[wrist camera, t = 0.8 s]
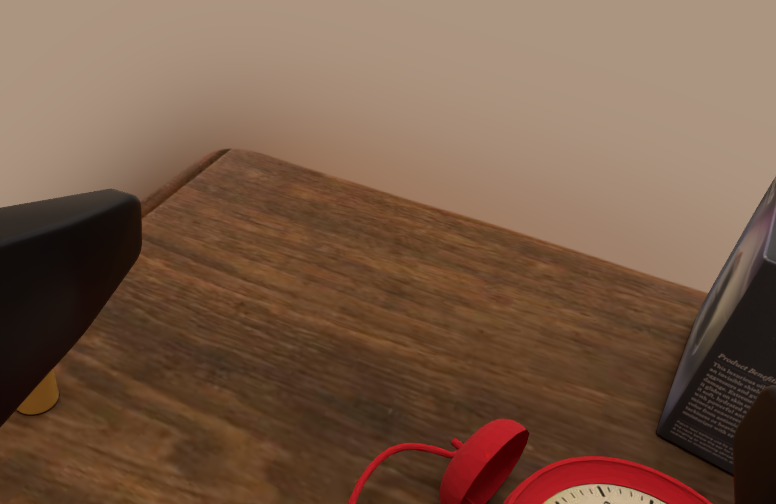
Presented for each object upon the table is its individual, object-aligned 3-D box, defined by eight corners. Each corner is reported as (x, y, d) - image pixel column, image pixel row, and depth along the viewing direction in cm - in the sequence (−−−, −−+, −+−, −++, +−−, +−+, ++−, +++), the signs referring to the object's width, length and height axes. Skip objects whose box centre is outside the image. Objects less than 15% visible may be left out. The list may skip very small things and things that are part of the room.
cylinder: (44, 419, 25) (22, 325, 22) (4, 410, 25) (-23, 315, 23) (67, 388, 27) (49, 296, 24) (28, 380, 27) (6, 286, 24)
